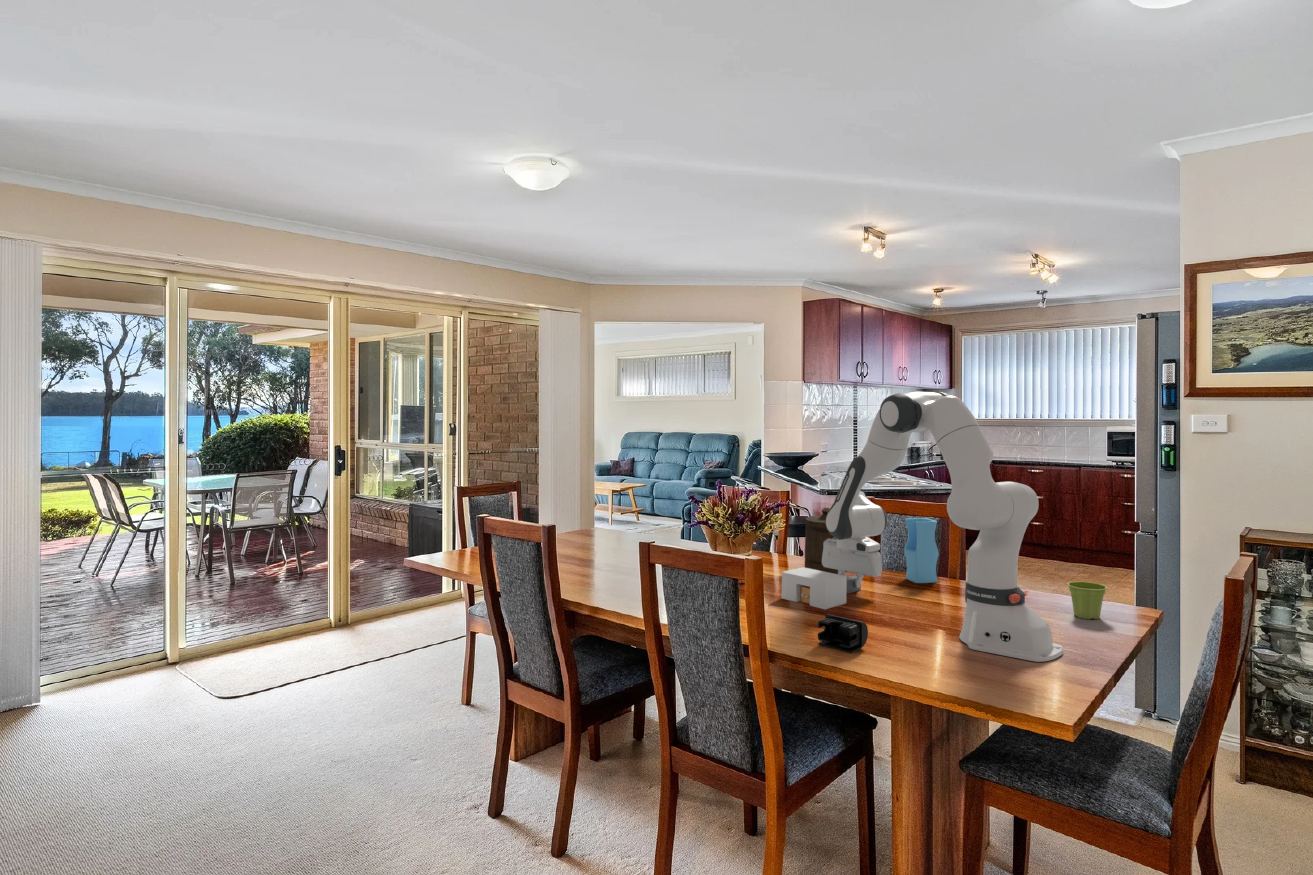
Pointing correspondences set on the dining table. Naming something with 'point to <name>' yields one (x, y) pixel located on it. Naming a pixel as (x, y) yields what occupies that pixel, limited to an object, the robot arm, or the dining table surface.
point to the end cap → (842, 633)
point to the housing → (815, 587)
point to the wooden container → (816, 542)
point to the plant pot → (1087, 599)
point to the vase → (921, 550)
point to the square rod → (849, 588)
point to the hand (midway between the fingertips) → (850, 585)
